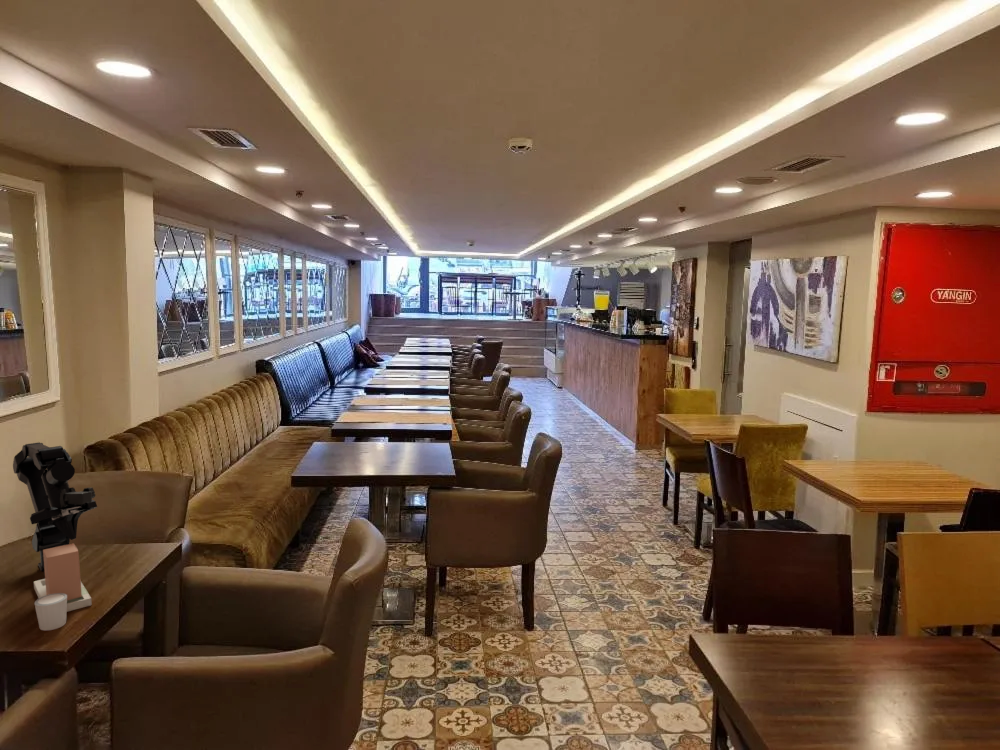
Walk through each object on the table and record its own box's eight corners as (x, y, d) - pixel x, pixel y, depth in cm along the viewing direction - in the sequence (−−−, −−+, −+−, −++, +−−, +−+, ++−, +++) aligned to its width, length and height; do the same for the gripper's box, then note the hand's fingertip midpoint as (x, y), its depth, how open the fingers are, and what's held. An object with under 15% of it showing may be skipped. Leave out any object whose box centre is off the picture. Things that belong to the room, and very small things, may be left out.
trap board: (34, 588, 183) (33, 581, 183) (75, 578, 190) (74, 571, 190) (47, 617, 167) (46, 609, 167) (91, 604, 174) (91, 597, 174)
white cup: (56, 632, 160) (54, 605, 159) (29, 631, 160) (27, 604, 160) (75, 618, 167) (73, 592, 166) (49, 617, 167) (47, 592, 166)
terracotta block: (46, 595, 175) (42, 549, 173) (76, 587, 180) (73, 543, 178) (50, 604, 170) (47, 557, 168) (81, 596, 175) (78, 550, 173)
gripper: (55, 482, 178) (72, 536, 177) (104, 475, 197) (120, 523, 195) (21, 496, 179) (37, 550, 178) (73, 488, 198) (88, 536, 196)
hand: (73, 539), depth 187 cm, fingers closed
